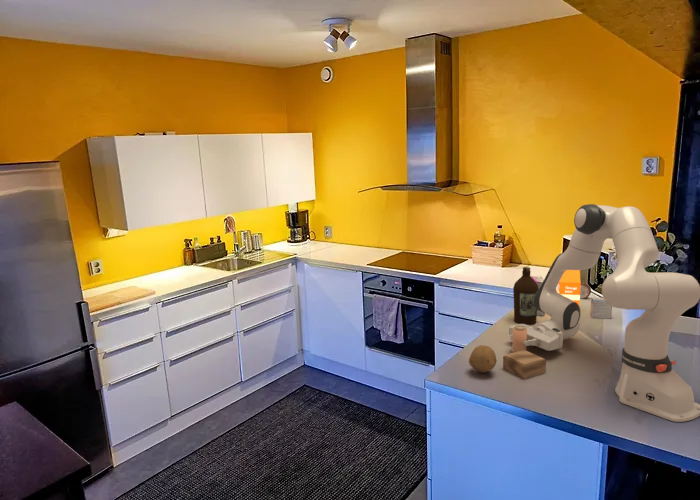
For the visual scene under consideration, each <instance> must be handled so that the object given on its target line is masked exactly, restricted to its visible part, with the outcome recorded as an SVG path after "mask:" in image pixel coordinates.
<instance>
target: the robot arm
mask: <svg viewBox="0 0 700 500" xmlns="http://www.w3.org/2000/svg"><path fill="white" fill-rule="evenodd" d="M573 223H574V227H575V229H574V231H573V233H572V235H571V238H570V240H569V243H568V247H567V248H566V250H564V252H561V253H559V254H558V255H557V256H556V258H554V260H553V262H552V264H551V265H550V268H549V269H548V271H547V274H546V275H545V277H544V278H543V280H544V281H543V283H542V285H541V287H540V288H539V289H538V291H537V292H536V294H535V295H534V299H533V300H534V306H535V308H536V309H537V310H539V311H541V312H543V313H545V314H546V315H548V316H549V317H550V319H549V320H545V321H540V322H536V323H535V324H533V326H532V325H526V324H518V323H515V324H513V325H509V327H508V335H509V337H510V339H509V340H512V341H513V328H514V327H515V326H517V325H521V326H524V327H525V328H526V329H527V340H524V341H523V345H525V346H527V347H528V346H536V347H538V348H540V349H543V350H545V351H548V352H550V351H556V350H557V349H562V348H563V345H564V344H563V343H564V340H568V339H570V338H572V337H574V336H575V335H577V334H578V333H579V331H580V329H581V328H580V318H581V308H580V304H579V305H578V304H577V303H576V302H574V301H572V300H571V299H569V298H567V297H565V296H563V295H561V294H559V293H558V290H557V288H558V283H559V281H560V279H561V277H562V275H563V274H564V272H565V271H567V270H580V271H586V270H589V269H591V268H593V267H595V266H596V264H597V262H598V261H599V259H600V256H601V252H602V250H603V246H604V244H605V243H604V242H605V241H606V240H607V239H611V240H612V242H613V246H614V249H615V255H616V260H617V264H616V267H615V270H614V271H613V272H612V273H611V274H610V275H608V276H606V278H605V279H604V282H603V283H602V286H601V295H602V298H604V300H605V301H606V303H607V304H608V305H610V306H611V307H612V308H616V309H617V308H618V309H621V310H623V309H624V310H627V311H628V310H634V311H635V310H639V311H640V310H642V311H643V310H644V312H643V313H642V314H640V315H639V316H638V317H636V318H634V319H632V320H631V321H629V322H628V323H627V325H626V326H625V329H624V330H625V332H624V343H623V345H624V346H623V348H622V351H621V369H620V375H619V379H618V381H617V384H616V385H615V388H614V391H615V394H616V395H617V396H618V398H619V399H618V400H619V402H620V403H621V404H624V405H627V406H630V407H632V408H634V409H637V410H640V411H643V412H645V413H650V414H652V415H655V416H657V417H660V418H662V419H666V420H669V421H672V422H678V423H679V422H680V423H681V422H689V421H692V420H694V419H697V418H698V417H700V404H699V403H697V402H695V398H694V396H695V395H694V391H693V389H692V387H691V386H690V385H689V384H688V383H687V382H685V380H684V379H683V378H682V377H681V376H680V375H678V374H677V372H676V371H674V369H673V366H674V365H676V364H677V363H676V362H677V360H672V361H671V360H670V357H669V355H668V347H669V340H670V334H671V331H672V329H673V327H674V325H675V323H676V322H677V320H678V319H679V318H680V317H681V316H682V315H683V314H684V313H685V312H686V311H688V310H689V309H691V308H693V307H695V306H696V305H697V304H698V302H699V300H700V283H699V282H698V280H697V279H696V278H695V277H694V276H693V275H690V274H685V273H679V272H671V271H668V272H666V271H665V272H650V271H649V272H648V271H646V268H647V267H649V266H651V265H653V264H654V263H655V262H656V260H657V259H658V256H659V249H658V245H657V242H656V240H655V237H654V235H653V232H652V228H651V227H650V224H649V222H648V220H647V219H646V217H645V215H644V214H643V212H642V211H641V210H640V209H639V208H637V207H635V206H629V205H628V206H622V207H615V206H613V205H611V206H610V205H602V204H601V205H600V204H594V203H590V204H587V203H586V204H583V205H581V206H580V207H579V208H578V209H577V211H576V212H575V214H574V219H573Z"/></svg>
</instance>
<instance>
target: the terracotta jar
mask: <svg viewBox="0 0 700 500" xmlns="http://www.w3.org/2000/svg"><path fill="white" fill-rule="evenodd" d="M524 340H527V329H526V328H525V327H524V326H521V325H517V326H515V327H514V328H513V340H512V349H511V350H512V352H511V353H515V352H518V351H521V350H526V351H527V347H528V346H525V345H523V341H524Z"/></svg>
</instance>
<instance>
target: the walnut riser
mask: <svg viewBox="0 0 700 500" xmlns="http://www.w3.org/2000/svg"><path fill="white" fill-rule="evenodd" d="M502 369H504V370H505V371H507V372H510V373H511V374H513V375H515V376H517V377H519V378H521V379H523V380H527V379H529V378H532V377H536V376H539V375H541V374H545V373H546V372H547V359H545V358H544V357H542V356H539V355H537V354H535V353H533V352H530V351H528V350H527V349H526V350H521V351H518V352H515V353H512V352H510V353H508V354H505V355H503V358H502Z"/></svg>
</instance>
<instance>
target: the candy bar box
mask: <svg viewBox="0 0 700 500" xmlns="http://www.w3.org/2000/svg"><path fill="white" fill-rule="evenodd" d="M530 276H531V278H532V279H533V280H534V281H535V282H536V283H537V285H538V288H540V287H541V285H542V283H543V281H544V278H543V277H542V276H540V275H539V276H538V275H536V276H533V275H530ZM545 314H546V313H543V312H541V311H539V310H537V317H545Z"/></svg>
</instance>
